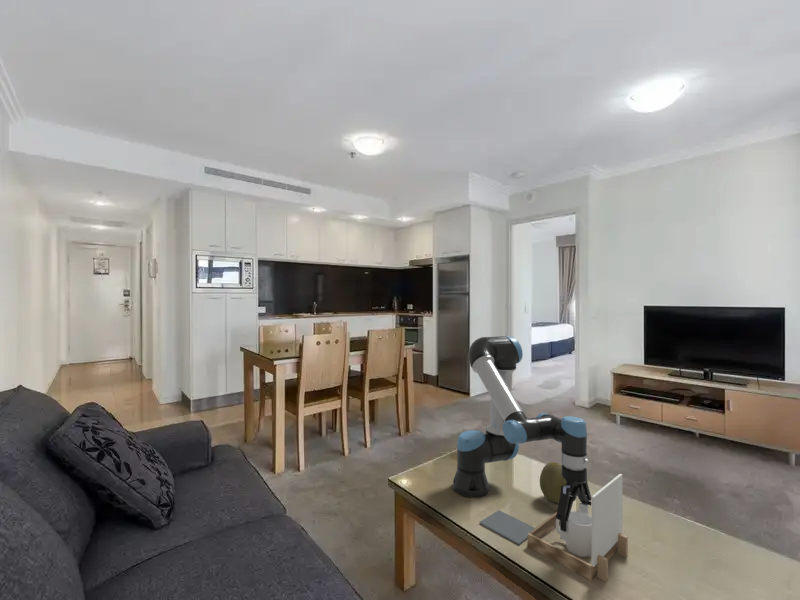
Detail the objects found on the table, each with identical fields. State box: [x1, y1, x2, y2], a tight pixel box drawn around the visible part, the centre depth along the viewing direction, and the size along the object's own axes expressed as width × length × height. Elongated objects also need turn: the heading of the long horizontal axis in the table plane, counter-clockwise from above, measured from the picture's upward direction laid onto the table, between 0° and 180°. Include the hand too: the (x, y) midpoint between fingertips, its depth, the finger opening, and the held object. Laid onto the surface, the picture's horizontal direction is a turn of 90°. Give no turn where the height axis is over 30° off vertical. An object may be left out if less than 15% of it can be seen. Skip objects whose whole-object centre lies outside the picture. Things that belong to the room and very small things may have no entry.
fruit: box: [539, 461, 566, 504], centre depth 153 cm, size 11×11×15 cm
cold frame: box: [526, 511, 618, 581], centre depth 124 cm, size 20×23×4 cm
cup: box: [555, 510, 592, 558], centre depth 124 cm, size 8×12×10 cm
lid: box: [590, 473, 629, 582], centre depth 116 cm, size 3×22×24 cm, turn 131°
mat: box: [478, 509, 536, 546], centre depth 135 cm, size 16×12×1 cm
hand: (574, 531), depth 124 cm, fingers open, 13 cm apart
